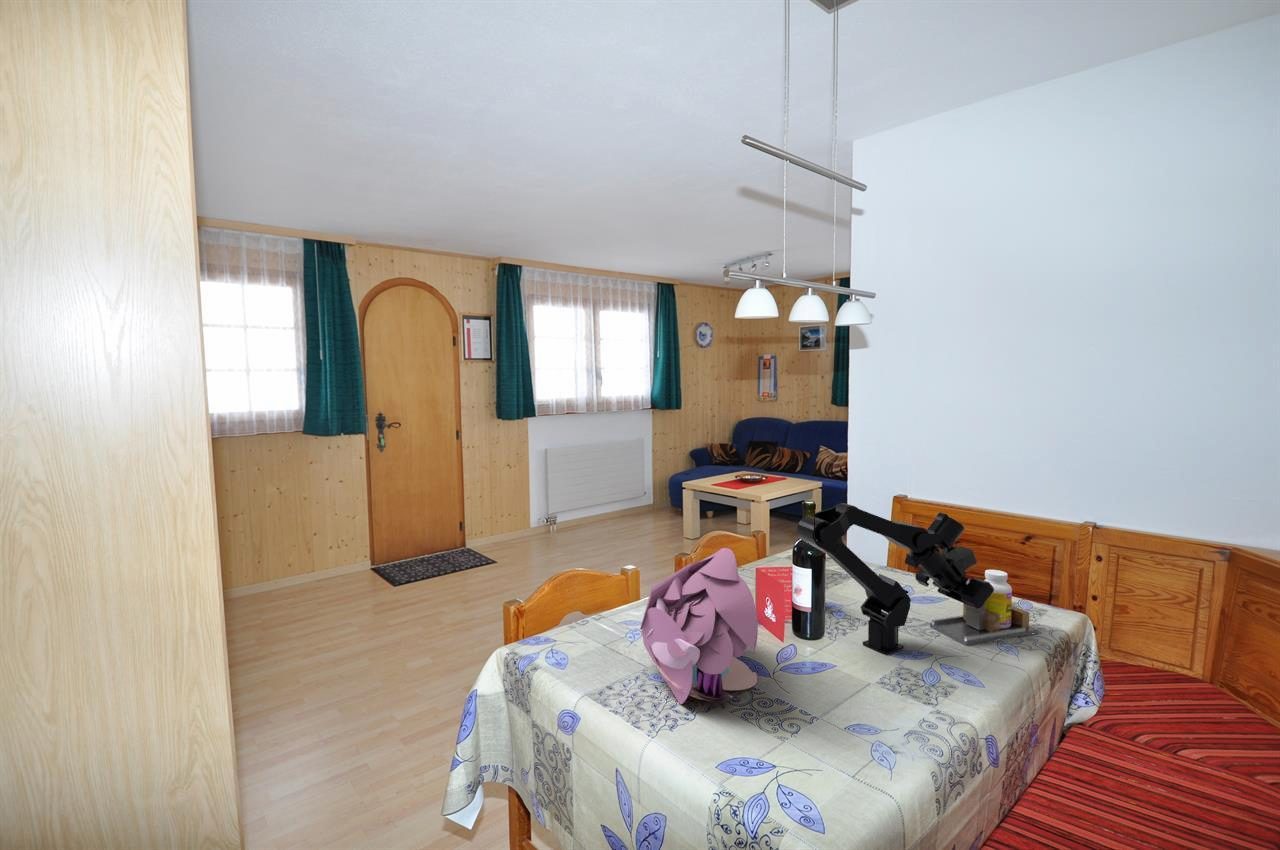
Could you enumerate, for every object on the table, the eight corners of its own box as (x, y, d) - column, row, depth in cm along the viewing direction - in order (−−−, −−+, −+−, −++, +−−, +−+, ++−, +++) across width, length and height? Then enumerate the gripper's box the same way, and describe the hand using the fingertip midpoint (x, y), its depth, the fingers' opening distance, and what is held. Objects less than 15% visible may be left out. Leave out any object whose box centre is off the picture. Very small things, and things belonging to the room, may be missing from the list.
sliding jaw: (985, 634, 137) (986, 587, 136) (956, 620, 145) (957, 576, 144) (999, 631, 138) (1000, 585, 137) (969, 618, 146) (970, 574, 145)
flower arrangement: (790, 728, 111) (824, 585, 109) (683, 736, 101) (717, 579, 99) (700, 639, 143) (725, 527, 141) (611, 639, 133) (637, 518, 131)
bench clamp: (965, 645, 134) (965, 624, 134) (929, 626, 144) (929, 607, 144) (1037, 633, 140) (1038, 613, 139) (997, 616, 150) (998, 597, 150)
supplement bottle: (1009, 632, 138) (1011, 578, 138) (977, 625, 142) (978, 573, 141) (1012, 622, 144) (1013, 571, 143) (981, 616, 148) (982, 566, 147)
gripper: (988, 547, 129) (1026, 591, 133) (925, 528, 147) (960, 567, 151) (958, 586, 128) (997, 629, 131) (898, 562, 146) (934, 601, 149)
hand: (971, 604), depth 141 cm, fingers closed, pressing on sliding jaw
